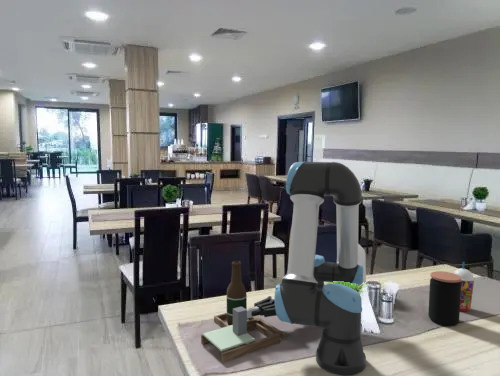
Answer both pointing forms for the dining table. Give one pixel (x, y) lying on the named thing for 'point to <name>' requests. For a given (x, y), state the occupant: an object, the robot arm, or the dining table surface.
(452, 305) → the coffee jar
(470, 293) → the smoothie
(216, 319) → the brown flat frame
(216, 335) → the cover
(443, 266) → the dining table surface
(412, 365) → the dining table surface
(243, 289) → the beer bottle
